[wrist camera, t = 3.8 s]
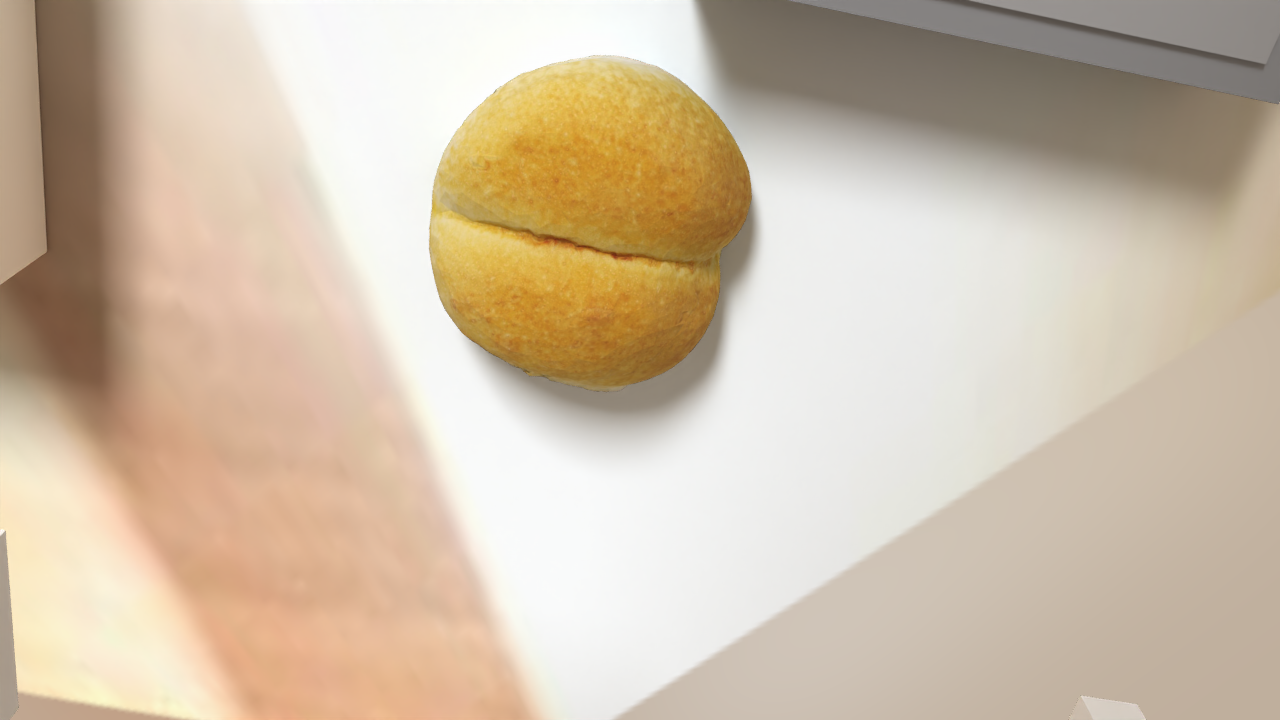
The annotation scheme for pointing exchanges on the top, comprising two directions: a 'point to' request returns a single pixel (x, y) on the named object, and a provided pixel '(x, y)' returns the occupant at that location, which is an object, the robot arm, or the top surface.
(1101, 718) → the robot arm
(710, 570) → the top surface
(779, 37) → the top surface
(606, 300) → the bread roll
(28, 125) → the white open box
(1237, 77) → the grey square block
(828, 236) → the top surface
